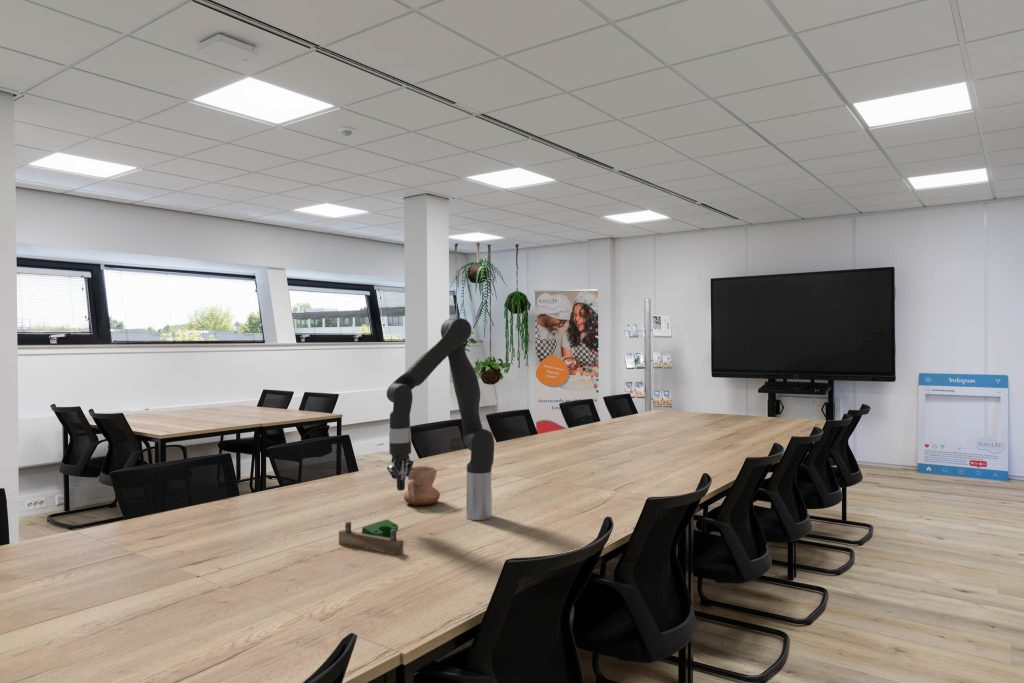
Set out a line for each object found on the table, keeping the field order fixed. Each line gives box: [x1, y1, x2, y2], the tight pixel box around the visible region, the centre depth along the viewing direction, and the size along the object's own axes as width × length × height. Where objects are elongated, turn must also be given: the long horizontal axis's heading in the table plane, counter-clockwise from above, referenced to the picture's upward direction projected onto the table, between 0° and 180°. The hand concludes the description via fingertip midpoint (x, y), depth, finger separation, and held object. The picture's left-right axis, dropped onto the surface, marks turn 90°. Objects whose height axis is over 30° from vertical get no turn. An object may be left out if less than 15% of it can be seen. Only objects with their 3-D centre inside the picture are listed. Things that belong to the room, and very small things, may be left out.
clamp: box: [361, 519, 399, 538], centre depth 210 cm, size 12×6×9 cm, turn 141°
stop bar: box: [338, 521, 404, 556], centre depth 203 cm, size 2×24×7 cm, turn 63°
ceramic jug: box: [403, 465, 441, 506], centre depth 261 cm, size 18×14×14 cm
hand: (401, 489), depth 225 cm, fingers closed
